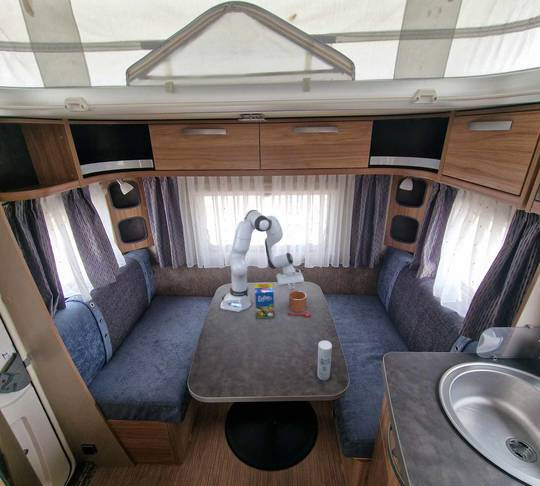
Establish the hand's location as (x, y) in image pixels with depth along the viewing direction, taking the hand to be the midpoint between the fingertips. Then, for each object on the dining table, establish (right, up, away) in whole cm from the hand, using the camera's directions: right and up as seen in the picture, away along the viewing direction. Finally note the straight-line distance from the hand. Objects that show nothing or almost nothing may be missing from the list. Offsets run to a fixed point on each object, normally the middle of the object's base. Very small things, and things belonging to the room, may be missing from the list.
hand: (292, 289), depth 212 cm
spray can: (+10, -29, -71) cm, 78 cm away
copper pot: (+3, -12, -9) cm, 15 cm away
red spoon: (+3, -16, -18) cm, 24 cm away
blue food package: (-20, -17, -17) cm, 31 cm away
